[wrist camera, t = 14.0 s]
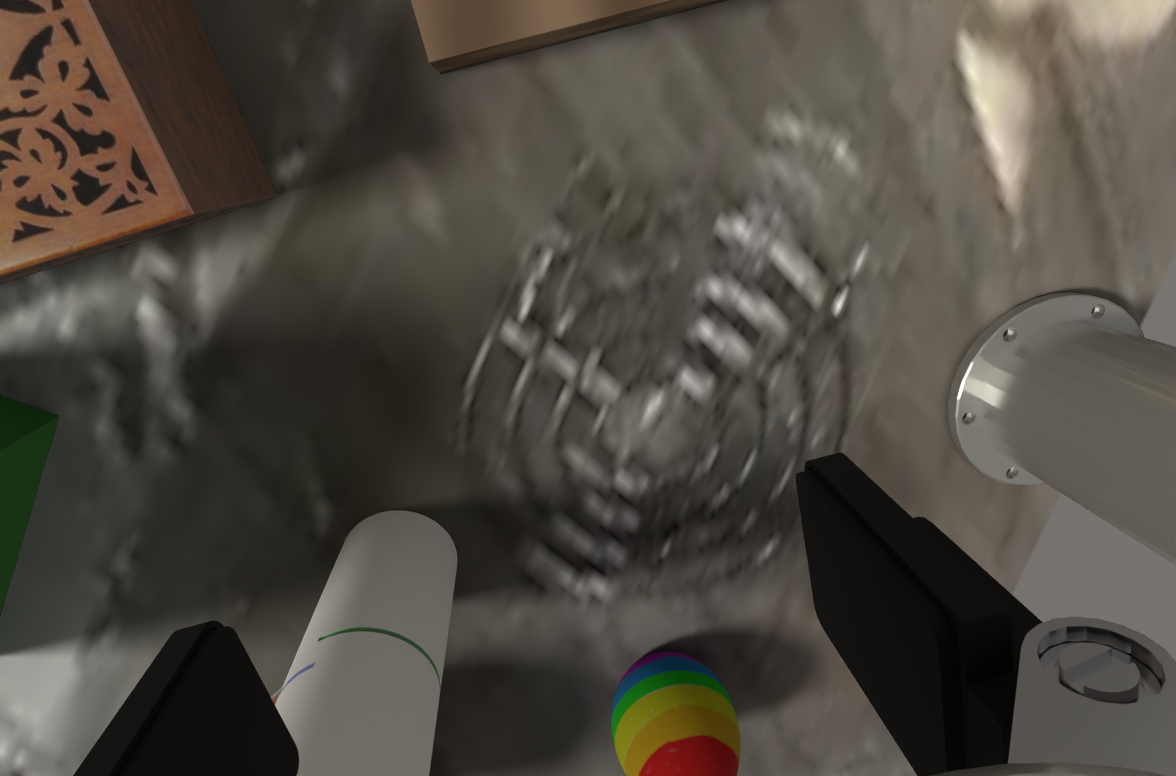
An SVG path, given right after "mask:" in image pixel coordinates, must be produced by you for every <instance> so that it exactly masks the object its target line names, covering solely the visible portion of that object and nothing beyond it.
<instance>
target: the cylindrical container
mask: <svg viewBox="0 0 1176 776" xmlns="http://www.w3.org/2000/svg"><path fill="white" fill-rule="evenodd" d="M456 570H457V552H456V548H455V545H454V542H453V541H452V539H451V537H450V535H449V534H448V533H447V532H446V530H445V529H444V528H443V527H442V526H440V525H439V524H438V523H437V522H436V521H434V520H432V519H430V518H428V517H427V516H424V515H421V514H418V513H415V512H410V511H403V510H396V511H386V512H381V513H377V514H375V515H372V516H370V517H367V518H366V519H364V520H363V521H361V522H360V523H358V524H357V525H356V526H355V527H354V528H353V529H352V530H351V532H350V533H349V534H348V536H347V537H346V539H345V541H344V544H343V546H342V548H341V551H340V553H339V555H338V558H337V560H336V562H335V565H334V567H333V569H332V572H331V574H330V576H329V579H328V581H327V583H326V586H325V588H324V590H323V593H322V595H321V597H320V600H319V602H318V604H317V607H316V609H315V611H314V614H313V616H312V618H311V621H310V623H309V626H308V628H307V630H306V633H305V635H304V637H303V640H302V642H301V645H300V647H299V649H298V652H297V654H296V656H295V659H294V661H293V663H292V666H291V668H290V671H289V673H288V675H287V678H286V680H285V682H284V685H283V687H282V689H281V692H280V694H279V697H278V699H277V701H276V704H275V706H276V708H277V710H278V712H279V714H280V716H281V718H282V719H283V721H284V723H285V725H286V727H287V729H288V731H289V733H290V734H291V736H292V738H293V740H294V742H295V744H296V746H297V749H298V753H299V769H298V773H297V776H429V772H430V765H431V757H432V750H433V742H434V735H435V727H436V720H437V712H438V705H439V697H440V690H441V683H442V675H443V668H444V660H445V653H446V645H447V638H448V630H449V623H450V615H451V608H452V600H453V593H454V585H455V578H456Z"/></svg>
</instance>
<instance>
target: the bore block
mask: <svg viewBox="0 0 1176 776" xmlns="http://www.w3.org/2000/svg"><path fill="white" fill-rule="evenodd" d="M723 1H727V0H411V3H412V6H413V9H414V13H415V16H416V20H417V23H418V26H419V30H420V33H421V36H422V40H423V43H424V47H425V50H426V53H427V57H428V60H429V63H430V64H431V65H432V66H433V67H434V68H435V69H436V70H437V71H438V72H439V73H440V74H443V73H447V72H451V71H454V70H458V69H462V68H466V67H470V66H474V65H478V64H482V63H486V62H489V61H493V60H497V59H501V58H505V57H509V56H513V55H517V54H521V53H524V52H528V51H532V50H536V49H540V48H544V47H548V46H552V45H556V44H559V43H563V42H567V41H571V40H575V39H579V38H583V37H587V36H591V35H594V34H598V33H602V32H606V31H610V30H614V29H618V28H622V27H626V26H630V25H633V24H637V23H641V22H645V21H649V20H653V19H657V18H661V17H665V16H668V15H672V14H676V13H680V12H684V11H688V10H692V9H696V8H700V7H703V6H707V5H711V4H715V3H719V2H723Z"/></svg>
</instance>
